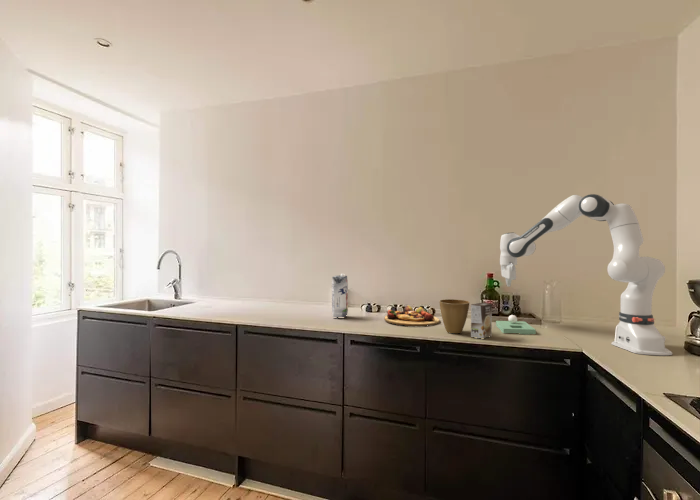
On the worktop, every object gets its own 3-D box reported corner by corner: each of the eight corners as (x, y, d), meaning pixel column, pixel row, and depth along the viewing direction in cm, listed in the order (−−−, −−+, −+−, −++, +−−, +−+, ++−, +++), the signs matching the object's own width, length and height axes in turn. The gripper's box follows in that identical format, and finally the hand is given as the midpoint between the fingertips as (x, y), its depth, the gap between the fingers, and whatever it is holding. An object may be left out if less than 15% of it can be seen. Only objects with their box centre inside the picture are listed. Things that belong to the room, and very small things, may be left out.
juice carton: (331, 318, 236) (330, 274, 235) (334, 315, 246) (334, 273, 246) (345, 319, 234) (345, 274, 234) (348, 316, 245) (348, 273, 244)
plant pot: (437, 334, 193) (437, 302, 193) (441, 328, 207) (441, 298, 207) (468, 336, 188) (468, 304, 188) (470, 330, 202) (470, 299, 202)
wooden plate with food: (385, 327, 212) (385, 312, 212) (383, 315, 244) (383, 302, 244) (444, 328, 211) (445, 313, 211) (434, 317, 243) (434, 303, 242)
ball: (518, 324, 205) (518, 315, 205) (509, 323, 206) (509, 315, 206) (516, 322, 209) (516, 314, 209) (507, 322, 210) (507, 314, 210)
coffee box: (483, 340, 182) (483, 305, 182) (470, 337, 187) (470, 304, 187) (492, 336, 189) (492, 303, 188) (479, 334, 193) (479, 302, 193)
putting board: (535, 334, 192) (535, 329, 192) (503, 333, 195) (503, 328, 195) (524, 326, 212) (524, 321, 212) (495, 325, 214) (495, 320, 214)
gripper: (519, 262, 206) (519, 288, 206) (510, 260, 226) (510, 284, 226) (506, 262, 207) (506, 288, 207) (499, 260, 227) (499, 284, 227)
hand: (508, 286), depth 217 cm, fingers closed
